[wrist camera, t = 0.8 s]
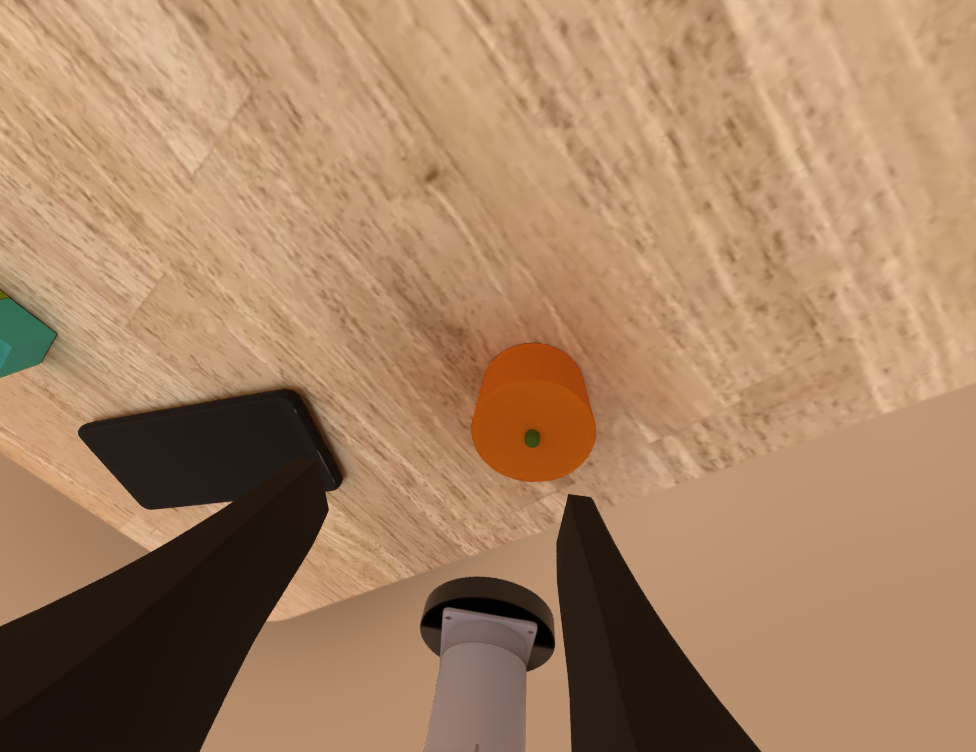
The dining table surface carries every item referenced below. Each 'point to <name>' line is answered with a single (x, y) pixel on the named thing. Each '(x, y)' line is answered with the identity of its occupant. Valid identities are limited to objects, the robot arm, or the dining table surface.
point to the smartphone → (209, 448)
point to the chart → (21, 338)
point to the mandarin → (533, 414)
